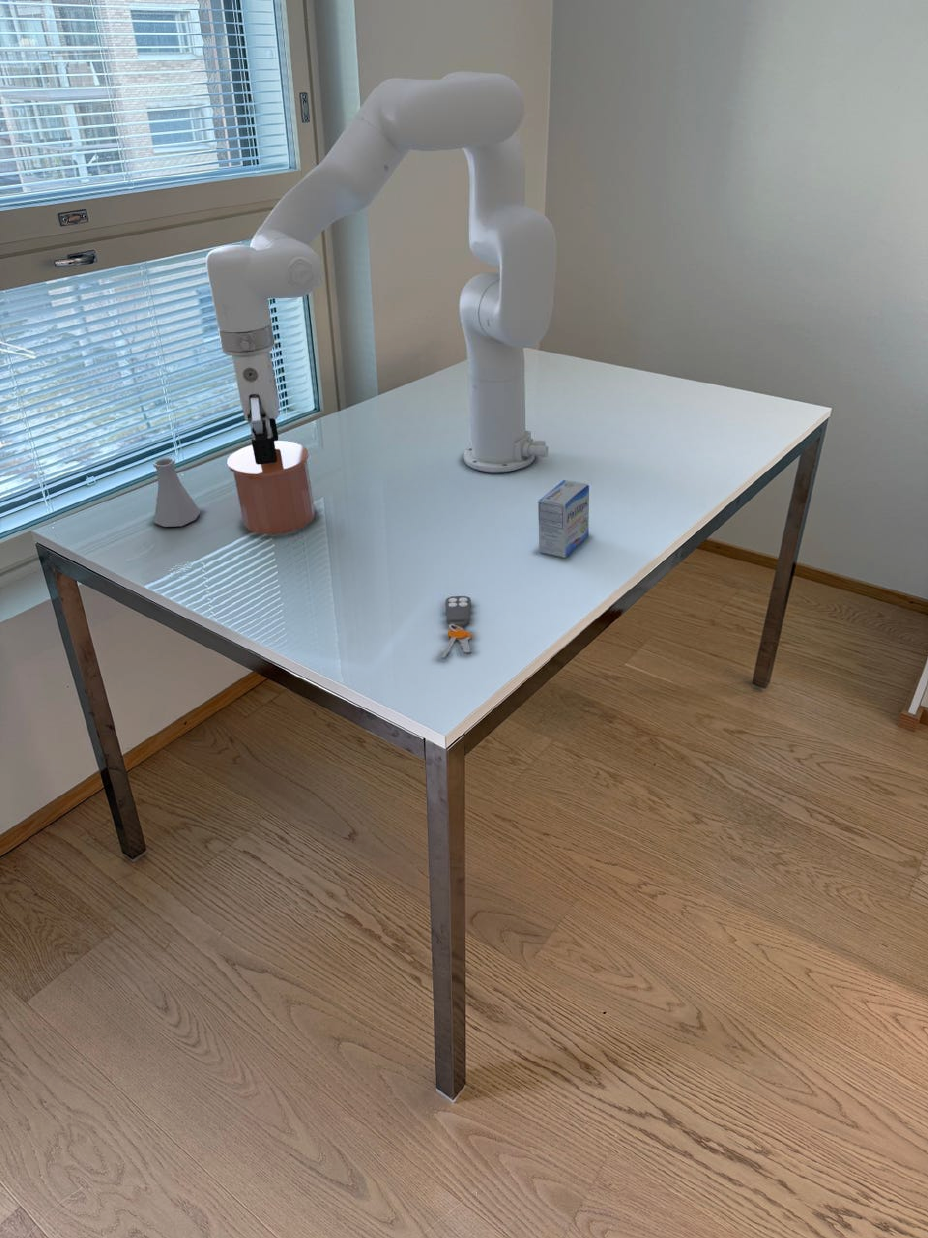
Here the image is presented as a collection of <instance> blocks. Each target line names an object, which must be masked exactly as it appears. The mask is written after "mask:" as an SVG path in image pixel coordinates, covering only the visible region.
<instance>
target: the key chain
mask: <svg viewBox="0 0 928 1238" xmlns="http://www.w3.org/2000/svg"><path fill="white" fill-rule="evenodd" d="M471 600H472V599H471V598H470V597H468V596H466V595H454V596H453V595H452V596H448V597H446V599H445V601H444V603H445V615H446V623H447V624H448V628H449V630H448V631H447V636H448V637H449V638H450V639H449V641H448V644H446V646H445V648H444V650H443V652H442V655H441V659H442V658H443V659H445V658H446V656H447V655H448V654H449V653H450V651H451V649H452V647H453V646H454V643H455V642H456V641H458V642H459V643H460V647H461V649H462V652H463V653H465V654H466V653H467V654H468V653H470V652H471V647H470V644H469V640H470V639H472V634H471V633H470V632H468V631H465V629H464V626H466V625H468V624H469V621H470V615H471V606H472V601H471ZM453 627H455V628H453Z"/></svg>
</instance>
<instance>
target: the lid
mask: <svg viewBox="0 0 928 1238" xmlns="http://www.w3.org/2000/svg"><path fill="white" fill-rule="evenodd" d="M265 427H266V425H265ZM270 430H271V436H273V434H272V429H271V427H270ZM274 443H275V449H276V454H277V462H276V463H268V464H256V461H255V456H254V451H253V446H252V444H250V445H247V446H244V447H242V448H239V449H237V450H236V451H234V452H233V453H231V455H230V456H229V457H228V458H227V461H226V465H227V468H228V469H229V471H230V472H231V473H232V474H233V473H235V474H238V475H241V476H247V477H267V476H274V475H279V474H283V473H286V472H289V471H292V470H294V469H296V468H298V467H300V466H301V465H303V464H304V463H305V462H306V461H307V462H308V459H309V451H308V448H307V447H306V446H304V445H302V444H300V443H297V442H293V441H285V440H278V441H274Z"/></svg>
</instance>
